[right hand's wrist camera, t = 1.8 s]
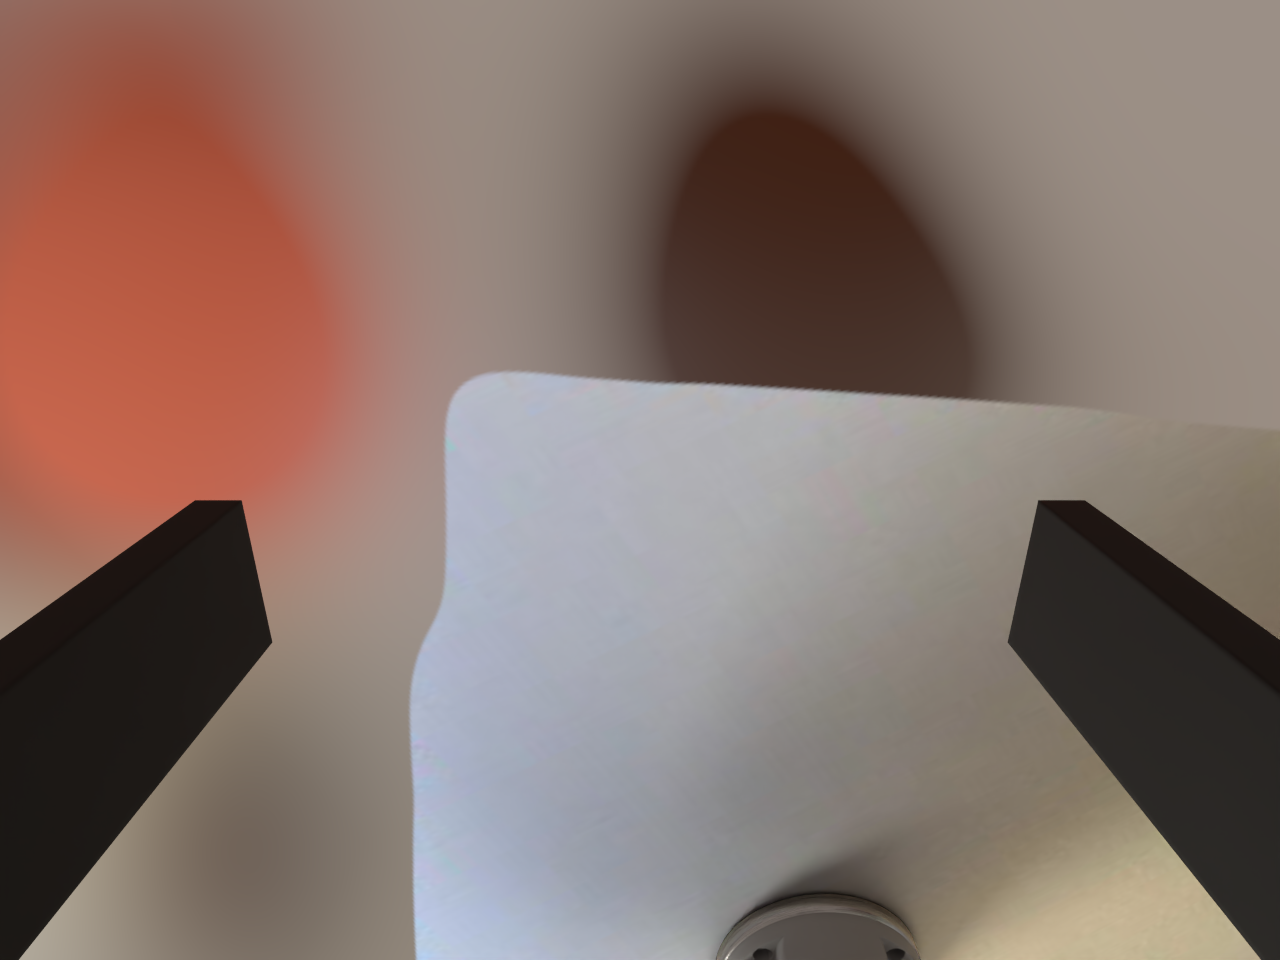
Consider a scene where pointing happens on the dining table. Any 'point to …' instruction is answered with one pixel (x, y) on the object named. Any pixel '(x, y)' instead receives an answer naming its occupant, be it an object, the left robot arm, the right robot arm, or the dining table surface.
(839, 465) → the dining table surface
